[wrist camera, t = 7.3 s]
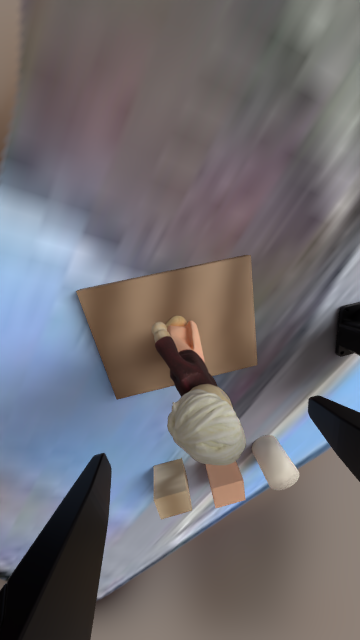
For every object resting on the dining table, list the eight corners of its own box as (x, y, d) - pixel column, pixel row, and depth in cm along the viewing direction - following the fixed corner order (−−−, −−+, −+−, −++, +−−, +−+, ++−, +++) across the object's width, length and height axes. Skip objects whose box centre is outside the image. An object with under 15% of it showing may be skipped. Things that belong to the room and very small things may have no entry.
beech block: (181, 457, 27) (186, 490, 23) (186, 476, 28) (192, 510, 25) (153, 465, 27) (153, 499, 23) (159, 483, 28) (161, 519, 24)
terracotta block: (231, 449, 28) (243, 480, 24) (233, 468, 29) (245, 499, 25) (203, 456, 27) (212, 488, 24) (207, 475, 29) (215, 508, 25)
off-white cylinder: (277, 432, 28) (299, 463, 24) (277, 451, 29) (298, 484, 25) (250, 439, 28) (268, 472, 23) (252, 458, 29) (269, 493, 25)
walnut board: (245, 255, 19) (250, 255, 18) (252, 359, 23) (257, 364, 22) (80, 289, 18) (76, 291, 17) (118, 392, 22) (116, 399, 21)
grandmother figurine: (216, 343, 20) (306, 467, 9) (190, 367, 21) (240, 515, 9) (164, 291, 18) (189, 365, 6) (136, 320, 18) (107, 439, 7)
